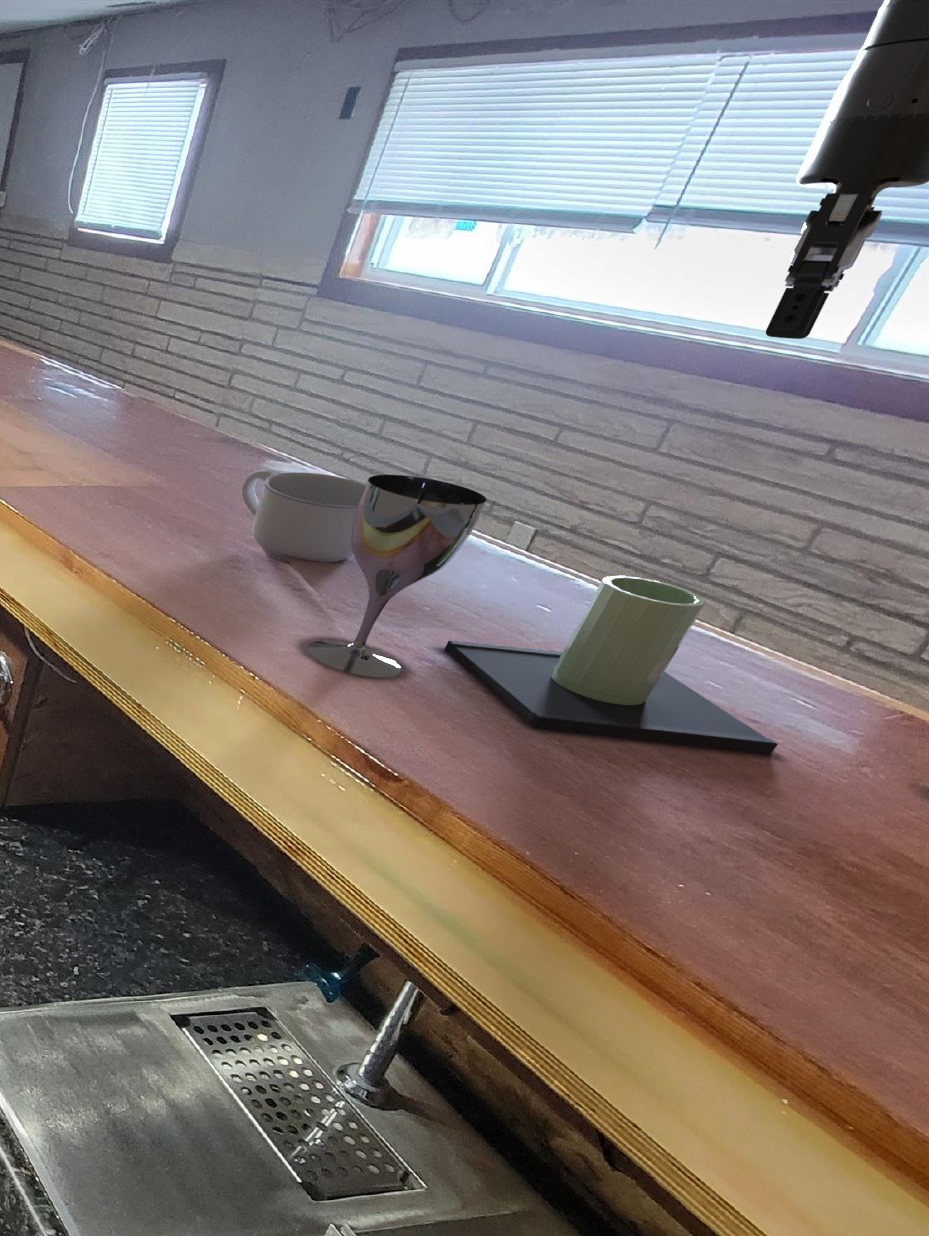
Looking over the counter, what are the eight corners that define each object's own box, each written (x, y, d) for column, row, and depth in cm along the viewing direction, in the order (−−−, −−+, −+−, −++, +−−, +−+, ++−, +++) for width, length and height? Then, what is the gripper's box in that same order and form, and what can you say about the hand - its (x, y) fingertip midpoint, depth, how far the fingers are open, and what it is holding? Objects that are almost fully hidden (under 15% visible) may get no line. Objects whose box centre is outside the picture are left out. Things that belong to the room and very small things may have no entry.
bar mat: (644, 672, 87) (651, 661, 86) (769, 756, 75) (778, 743, 74) (443, 651, 89) (448, 640, 88) (533, 729, 77) (540, 716, 76)
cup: (614, 675, 84) (669, 580, 79) (664, 709, 78) (726, 609, 74) (535, 667, 84) (586, 572, 80) (579, 700, 79) (636, 601, 75)
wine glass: (392, 648, 89) (467, 482, 81) (419, 687, 82) (503, 510, 75) (292, 633, 91) (356, 469, 84) (310, 669, 84) (382, 495, 77)
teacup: (378, 574, 105) (410, 500, 101) (291, 578, 103) (319, 503, 99) (280, 529, 117) (305, 461, 113) (200, 533, 115) (222, 463, 111)
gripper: (971, 99, 71) (847, 342, 78) (962, 126, 80) (852, 342, 87) (819, 107, 76) (715, 334, 83) (826, 131, 85) (732, 334, 92)
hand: (785, 338), depth 85 cm, fingers open, 8 cm apart
